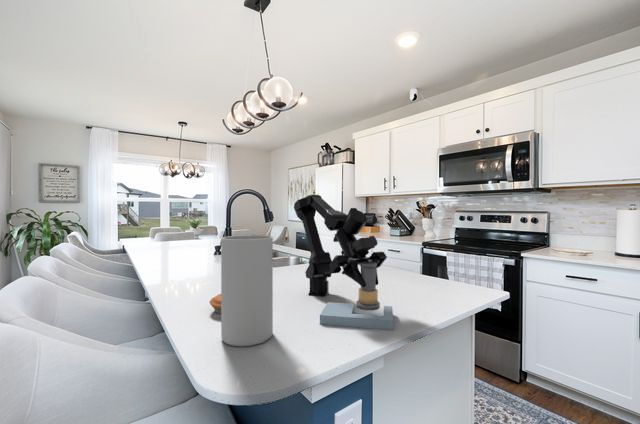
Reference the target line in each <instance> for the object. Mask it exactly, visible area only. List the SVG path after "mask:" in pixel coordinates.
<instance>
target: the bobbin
mask: <svg viewBox="0 0 640 424" xmlns="http://www.w3.org/2000/svg"><path fill="white" fill-rule="evenodd" d="M376 266H377V263H376V262H369V261H365V262H360V265H359V267H360V273H361V275H362V277H363V279H364V282H365V284H366V286H365V287H362V286H361V285H360V288H358V300H357V301H356V308H357V309H359V310H363V311H378V310H379V309H380V308H381V305H380V304H381V303H380V301H378V300H379V299H378V297H379V294H378V293H379V291H378V289H377V285H376Z"/></svg>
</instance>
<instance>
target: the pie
mask: <svg viewBox="0 0 640 424" xmlns="http://www.w3.org/2000/svg"><path fill="white" fill-rule="evenodd" d="M209 304H210V305H211V307H213V309H214V310H215V312H216V314H218V315H220V316H221V293H220V294H217V295H216V296H214V297H212V298H211V299H210V300H209Z"/></svg>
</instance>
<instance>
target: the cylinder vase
mask: <svg viewBox="0 0 640 424" xmlns="http://www.w3.org/2000/svg"><path fill="white" fill-rule="evenodd" d="M273 240H274V239H273V236H272V235H260V234H259V235H257V234H254V235H248V234H246V235H231V236H230V235H229V236H223V237H221V238H220V241H221V242H220V244H221V245H220V250H221V253H220V255H221V257H220V259H221V261H220V262H221V264H220V265H221V267H220V269H221V270H220V271H221V273H220V274H221V276H220V277H221V279H220V280H221V282H220V284H221V285H220V286H221V288H220V289H221V291H220V292H221V293H220V294H221V315H220V319H221V320H220V321H221V323H220V324H221V328H220V329H221V331H220V333H221V340H222V341H223V342H224V343H225V344H227V345H229V346H233V347H251V346H256V345H260V344H263V343H265V342H266V341H267V340H269V339H270V338H271V337H272V335H273V333H274V332H273V331H274V327H273V326H274V324H273V321H274V319H273V318H274V317H273V316H274V315H273V314H274V313H273V312H274V309H273V304H274V302H273V300H274V299H273V296H274V294H273V293H274V292H273V290H274V289H273V284H274V283H273V282H274V281H273V278H274V277H273V276H274V275H273V274H274V273H273V271H274V270H273V265H274V264H273V263H274V261H273V258H274V257H273V255H274V253H273V252H274V251H273V247H274V246H273V244H274V242H273Z"/></svg>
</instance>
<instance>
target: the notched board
mask: <svg viewBox="0 0 640 424" xmlns="http://www.w3.org/2000/svg"><path fill="white" fill-rule="evenodd" d="M393 312H394V310H393V306H392V305H383V315H377V314H376V315H374V314H364V313H362V314H361V313H355V303H348V302H347V303H346V302H345V303H343V302H333V301H327V303H326V304H325V306H324V307H323V309H322V311H321V312H320V314H319V325H329V326H341V327H353V328H367V329H379V330H390V331H391V330H394V313H393Z"/></svg>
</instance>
